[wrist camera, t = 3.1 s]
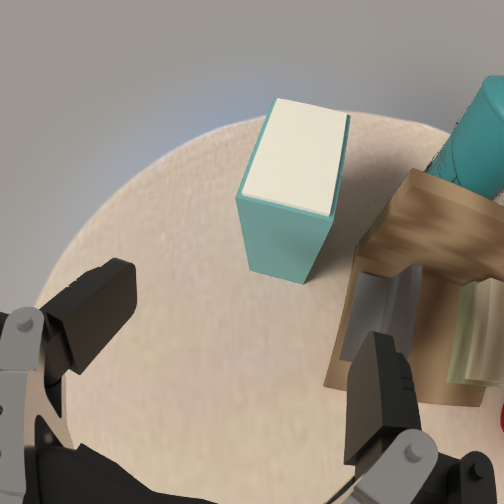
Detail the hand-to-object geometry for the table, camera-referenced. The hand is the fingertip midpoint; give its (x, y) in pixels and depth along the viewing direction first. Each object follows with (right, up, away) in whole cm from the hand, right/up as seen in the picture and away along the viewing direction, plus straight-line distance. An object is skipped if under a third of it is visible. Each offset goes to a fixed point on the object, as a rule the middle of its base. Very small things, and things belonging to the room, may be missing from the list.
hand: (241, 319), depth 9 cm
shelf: (+15, -5, +13) cm, 20 cm away
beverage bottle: (+18, +6, +17) cm, 26 cm away
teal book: (+3, +3, +16) cm, 17 cm away
